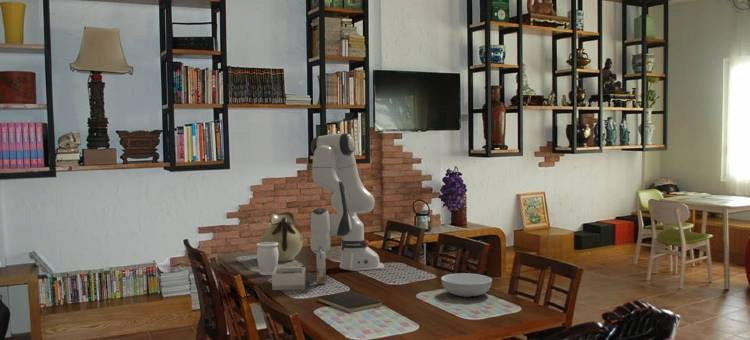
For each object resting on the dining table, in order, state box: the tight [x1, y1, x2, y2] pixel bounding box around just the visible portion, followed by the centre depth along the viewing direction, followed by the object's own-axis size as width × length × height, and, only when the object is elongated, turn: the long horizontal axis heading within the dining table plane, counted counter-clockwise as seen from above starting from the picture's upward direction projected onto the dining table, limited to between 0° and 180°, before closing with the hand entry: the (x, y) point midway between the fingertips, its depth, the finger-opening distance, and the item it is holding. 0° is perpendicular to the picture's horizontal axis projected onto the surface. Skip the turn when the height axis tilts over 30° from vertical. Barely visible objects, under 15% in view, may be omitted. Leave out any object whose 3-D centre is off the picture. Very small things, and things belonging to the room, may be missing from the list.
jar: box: [256, 242, 279, 276], centre depth 319 cm, size 11×10×15 cm
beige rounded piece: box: [260, 211, 304, 263], centre depth 355 cm, size 22×24×25 cm
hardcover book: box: [317, 290, 384, 313], centre depth 261 cm, size 16×23×2 cm
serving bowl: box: [440, 272, 493, 298], centre depth 273 cm, size 21×21×7 cm
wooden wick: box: [316, 261, 327, 285], centre depth 295 cm, size 4×2×10 cm, turn 94°
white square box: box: [271, 266, 307, 291], centre depth 292 cm, size 14×14×7 cm
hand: (321, 275), depth 295 cm, fingers closed on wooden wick, 2 cm apart
